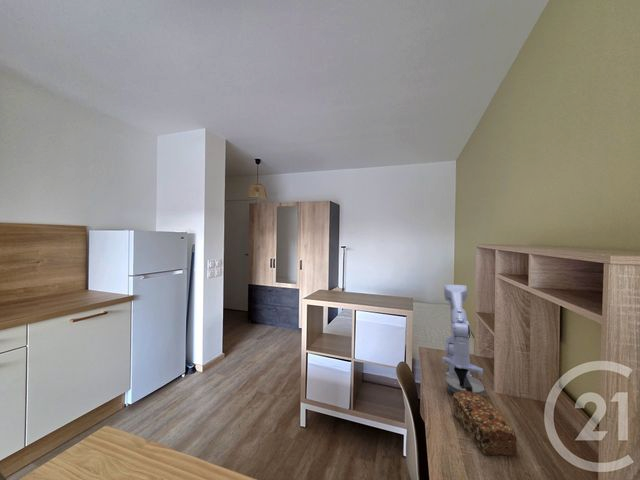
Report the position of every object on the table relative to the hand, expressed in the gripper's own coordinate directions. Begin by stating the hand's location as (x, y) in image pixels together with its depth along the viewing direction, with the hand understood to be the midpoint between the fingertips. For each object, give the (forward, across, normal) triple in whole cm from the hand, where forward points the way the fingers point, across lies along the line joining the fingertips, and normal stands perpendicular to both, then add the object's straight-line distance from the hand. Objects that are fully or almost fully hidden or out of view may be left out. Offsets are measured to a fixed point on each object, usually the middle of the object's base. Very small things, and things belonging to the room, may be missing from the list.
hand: (462, 385), depth 101 cm
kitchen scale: (+6, 0, +4) cm, 7 cm away
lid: (+2, -1, +5) cm, 5 cm away
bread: (+6, +10, -15) cm, 19 cm away
